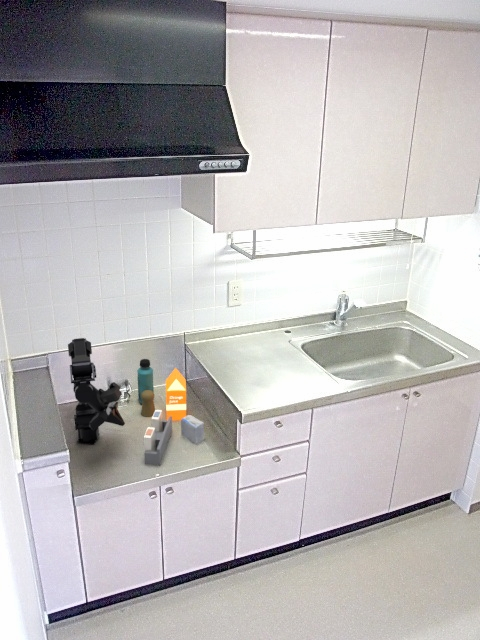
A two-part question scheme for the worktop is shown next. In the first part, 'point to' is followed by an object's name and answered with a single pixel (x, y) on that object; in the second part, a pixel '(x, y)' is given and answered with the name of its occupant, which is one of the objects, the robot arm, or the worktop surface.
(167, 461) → the worktop surface
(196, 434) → the medicine box
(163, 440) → the grey holder stand
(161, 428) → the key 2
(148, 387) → the beverage bottle
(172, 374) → the orange juice
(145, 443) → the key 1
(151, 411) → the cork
